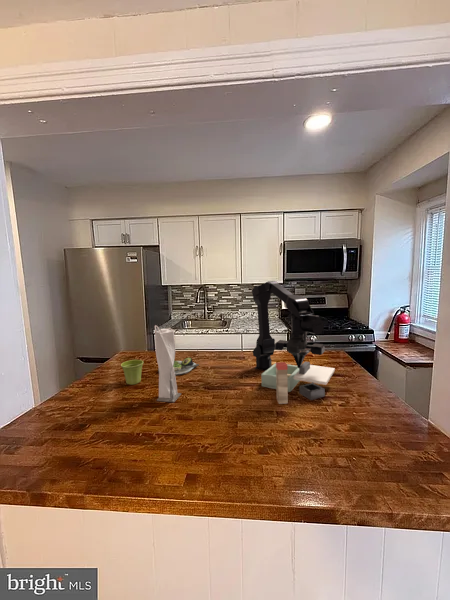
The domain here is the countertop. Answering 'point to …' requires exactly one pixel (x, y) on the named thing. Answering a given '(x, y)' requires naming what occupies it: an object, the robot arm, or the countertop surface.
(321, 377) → the toolbox lid
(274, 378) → the toolbox
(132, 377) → the plant pot
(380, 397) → the countertop surface
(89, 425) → the countertop surface
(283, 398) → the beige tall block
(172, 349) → the skyscraper
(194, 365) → the salad plate
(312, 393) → the key socket
